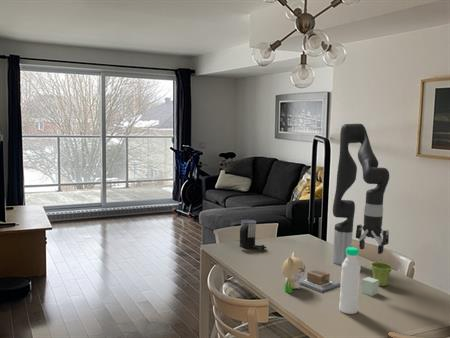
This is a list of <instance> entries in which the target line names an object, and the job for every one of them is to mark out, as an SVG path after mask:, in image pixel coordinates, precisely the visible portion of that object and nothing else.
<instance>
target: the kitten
mask: <svg viewBox="0 0 450 338" xmlns="http://www.w3.org/2000/svg"><path fill="white" fill-rule="evenodd" d="M281 271H282V275H283V277H285V282H284V283H285V285H284V292H285V293H286V294H292V293H293V290H295V289H297V290H300V289H301V286H302V285H300V282H299V279H302V278H304V275H305V273H306V265H305V264H304V262H303V260H302V259H301V258H299V257H296V251H293V252H292V254H291V255H290V256H289V257H288V258H286V259H285V260H284V261H283V264H282V266H281Z"/></svg>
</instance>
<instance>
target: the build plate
mask: <svg viewBox="0 0 450 338" xmlns="http://www.w3.org/2000/svg"><path fill="white" fill-rule="evenodd" d="M299 282H300V285H301V286H303V287H305V286H306V287H305V288H308V289H311V290H313V289H314V291H316V290H317V292H319V293H323V291H324V292H326V290H327V291H328V290H331V289H335V288H337V287H341V282H339V281H336V280H333V279H330V278H329V283H326V284H323V285H320V286H319V285H317V284H314V283H311V282H308V281H307V276H305V277H302V278H300V279H299Z"/></svg>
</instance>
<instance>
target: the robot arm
mask: <svg viewBox="0 0 450 338" xmlns="http://www.w3.org/2000/svg"><path fill="white" fill-rule="evenodd" d="M368 135H369V134H368V132H367V129H366V127H365V126H364V124H362V123H345V124H343V125H341V128H340V136H339V137H340V138H339V156H338V157H339V159H338V164H337V173H336V187H335V191H334V192H335V193H334V200H333V204H332V214H333V217H335V218H339V219H340V218H342V219H345V220H344V221H342V222H341V221H340V222H337V223H335V224H334V231H333V232H334V233H333V234H334V235H333V247H332V248H333V249H332V263H334V264H335V265H340V266H342V264H343V262H344V260H345V258H346V257H347V255H346V248H348V247H353V233H354V231H353V230H354V220H355V213H356V211H355V210H356V204H355V202H354V200H348V199H346V200H345V199H343V196H344V195H345V194H346V192H347V191H348V190H349V189H350V188H351V187H352V186H353V184H355V181H356V179H357V172H358V166H357V163H356V162H355V160H354V158H353V157H352V154H351V153H350V150H349V144H358V143H359V144H360V147H359V149H358V151H357V158H358V161H359V163H360V166H361V169H362V179H363V181H364V182H365V183H366V184H369V185H376V186H375V187H374V188H370V189H367V190H366V193H365V205H364V209H363V214H364V215H363V224H357V225H356V231H355V238H356V239H358V241H359V246H358V247H359V249H360V250H364V249H365V244H366V243H365V242H366V241H365V239H367V238H371V239H375V241H376V242H377V243H378V248H377V249H378V250H377V251H378V252H377V254H378V255H382V254H383V253H384V246H386V245H388V244H389V241H390V239H389V235H390V234H389V230H387V229H385V230H384V229H382V226H383V215H384V197H385V196H384V195H385V192H386V189H387V186H388V182H389V181H390V171H389V170H388V169H387V168H386V167H379V160H378V159H377V156H376V155H375V153H374V151H373V149H372V145H371V142H370V138H369V136H368ZM362 231H363V232H362Z"/></svg>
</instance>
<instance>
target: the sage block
mask: <svg viewBox="0 0 450 338" xmlns="http://www.w3.org/2000/svg"><path fill="white" fill-rule="evenodd" d="M361 293H363V294H365V295H367V296H370V297H373V296H375V295H377V294H379V280H377V279H374V278H373V277H370V276H368V277H364V278H362V280H361Z"/></svg>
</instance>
